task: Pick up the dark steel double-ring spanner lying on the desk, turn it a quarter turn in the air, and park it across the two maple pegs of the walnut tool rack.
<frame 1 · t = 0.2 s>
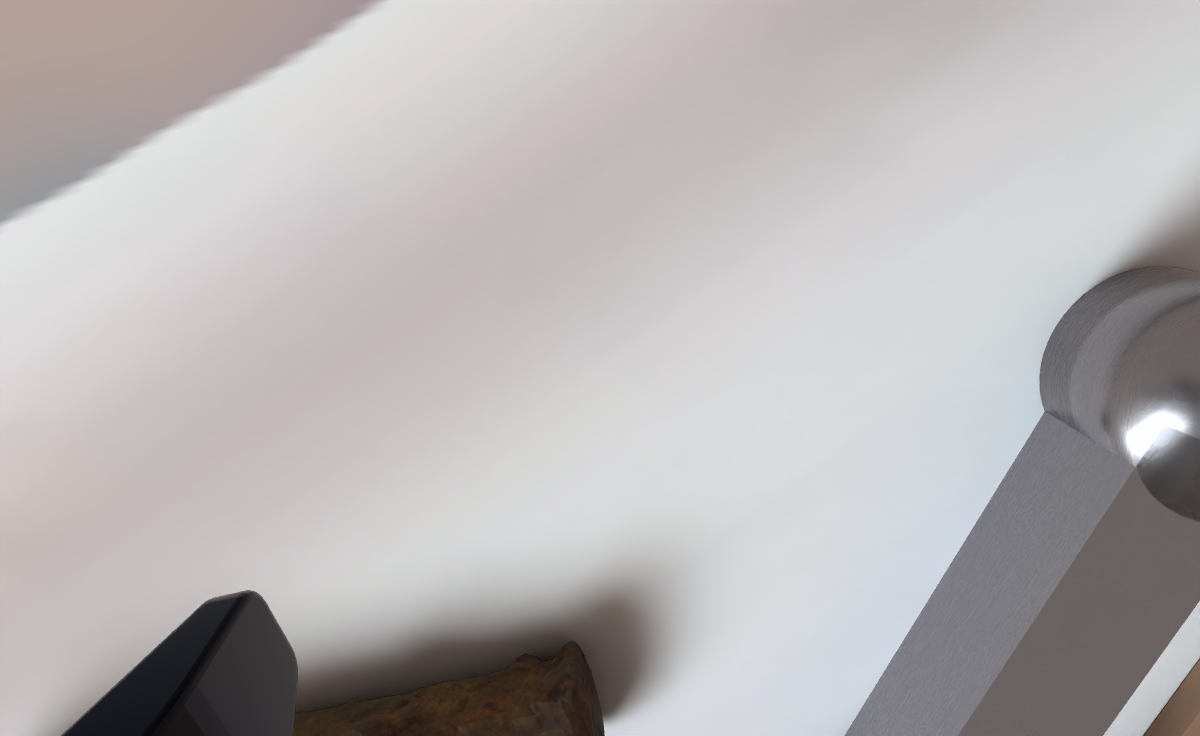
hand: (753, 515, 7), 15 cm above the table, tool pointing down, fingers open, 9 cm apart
spanner: (972, 628, 25), on the table
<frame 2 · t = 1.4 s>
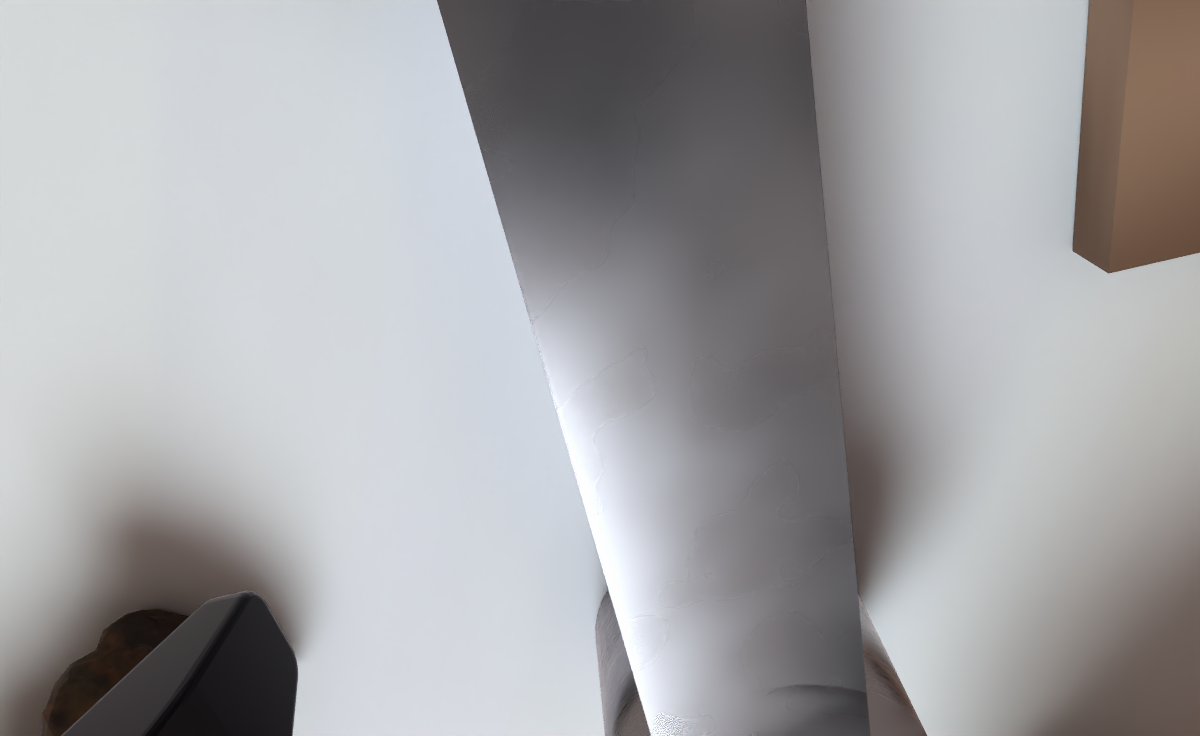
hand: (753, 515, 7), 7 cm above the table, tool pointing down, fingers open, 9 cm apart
spanner: (647, 235, 13), on the table
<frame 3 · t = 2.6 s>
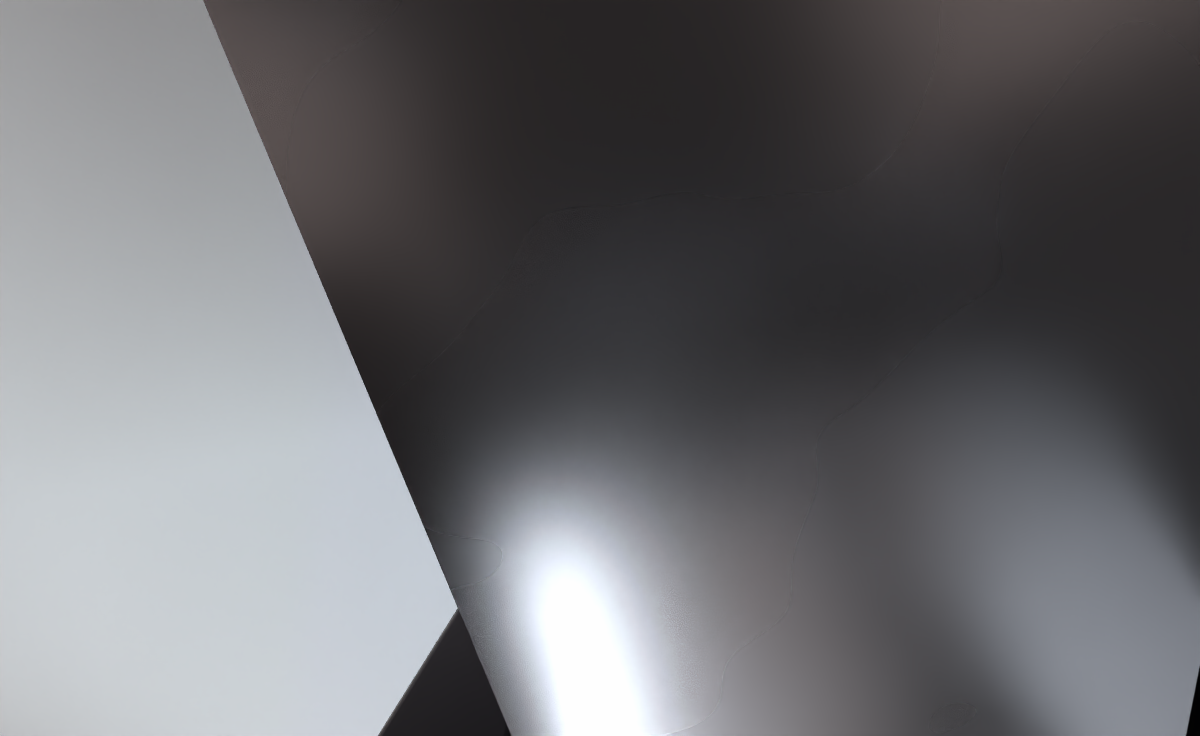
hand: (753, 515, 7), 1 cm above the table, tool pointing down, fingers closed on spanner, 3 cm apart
spanner: (728, 449, 8), on the table, touching gripper
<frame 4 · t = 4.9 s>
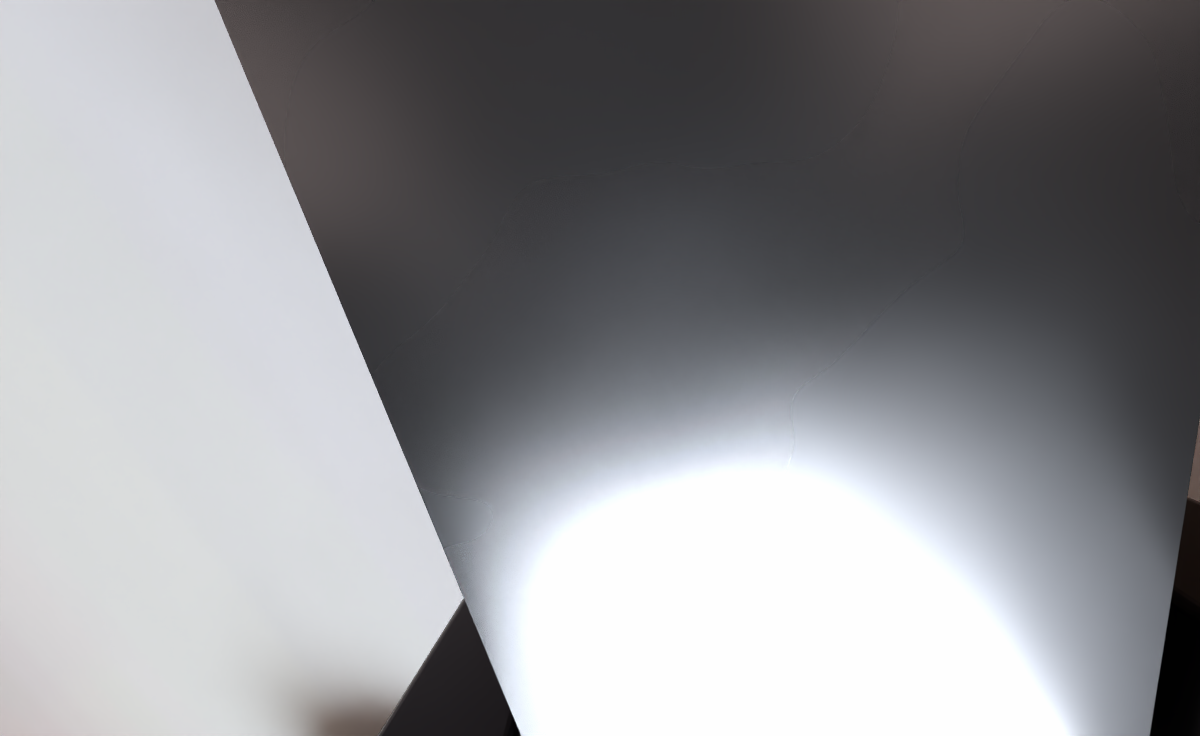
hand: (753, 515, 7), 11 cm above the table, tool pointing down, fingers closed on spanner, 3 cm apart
spanner: (721, 433, 8), point 10 cm above the table, touching gripper
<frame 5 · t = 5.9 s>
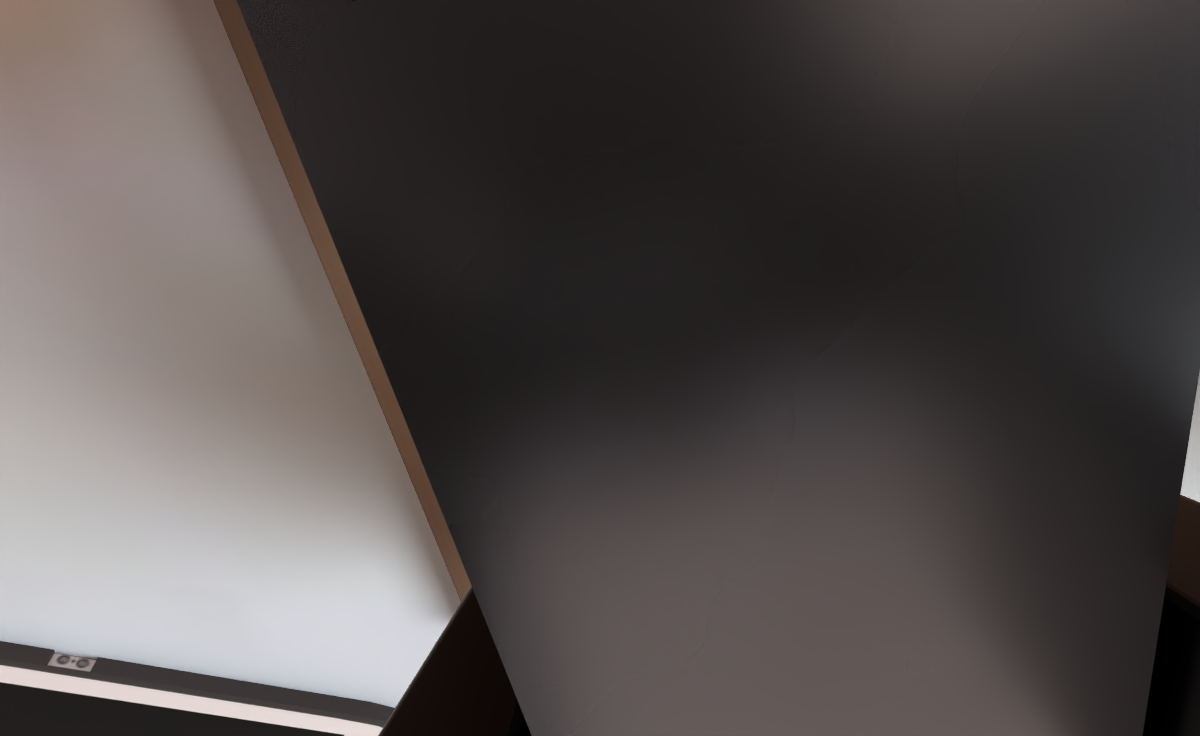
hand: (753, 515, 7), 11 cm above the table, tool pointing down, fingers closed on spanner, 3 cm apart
spanner: (720, 424, 9), point 9 cm above the table, touching gripper
tool rack: (622, 178, 17), on the table
when the fingers open (7 cm above the table, at t = 7.0 s): spanner drops 1 cm, resting on tool rack.
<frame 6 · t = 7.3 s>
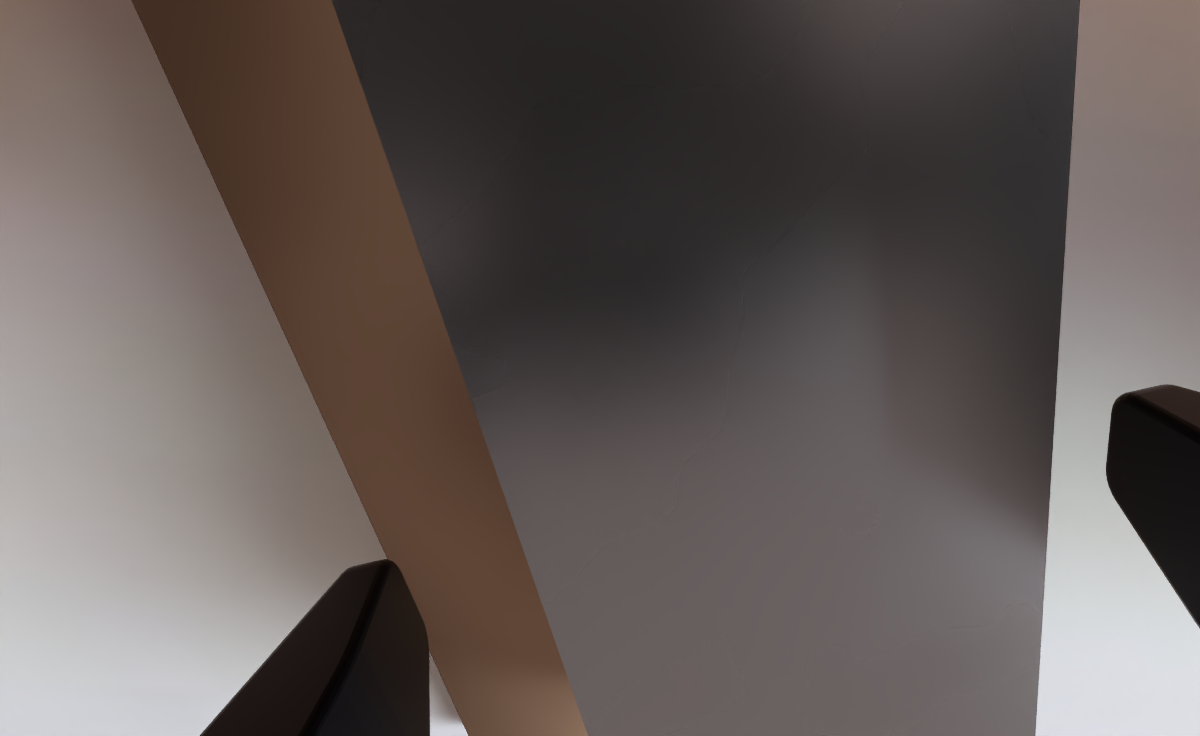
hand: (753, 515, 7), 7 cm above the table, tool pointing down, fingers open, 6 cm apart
spanner: (702, 369, 10), point 5 cm above the table, touching tool rack
tool rack: (645, 232, 14), on the table
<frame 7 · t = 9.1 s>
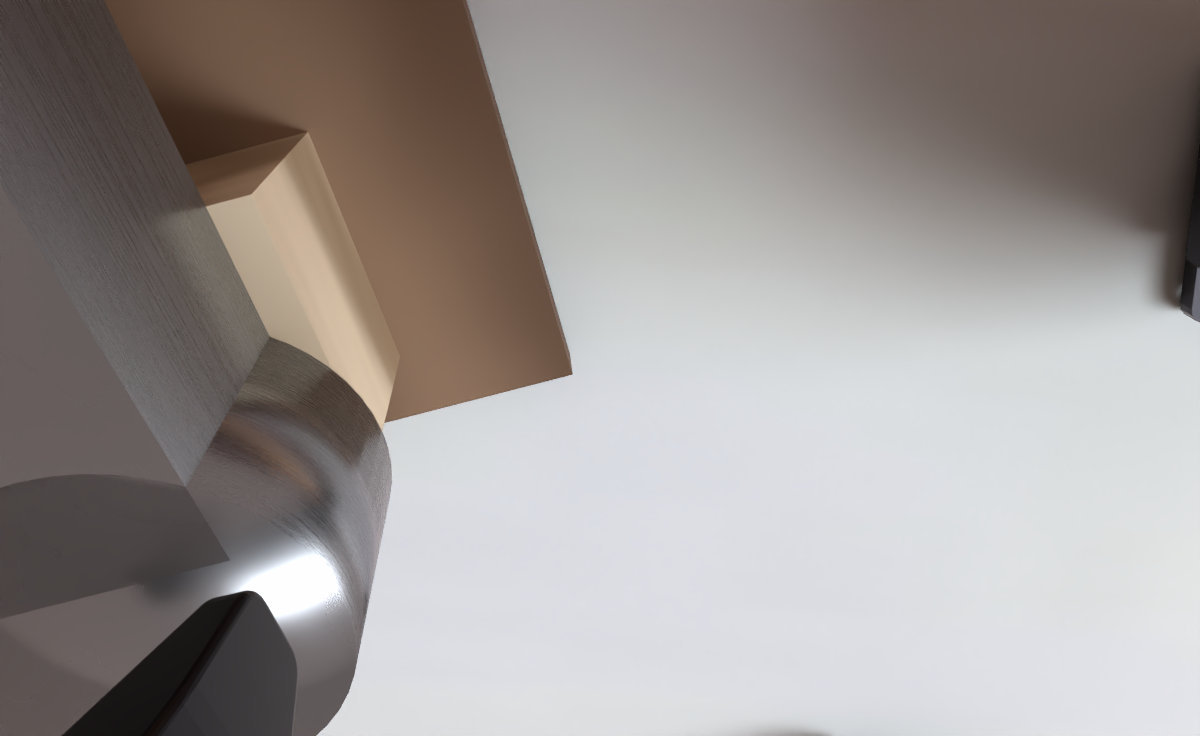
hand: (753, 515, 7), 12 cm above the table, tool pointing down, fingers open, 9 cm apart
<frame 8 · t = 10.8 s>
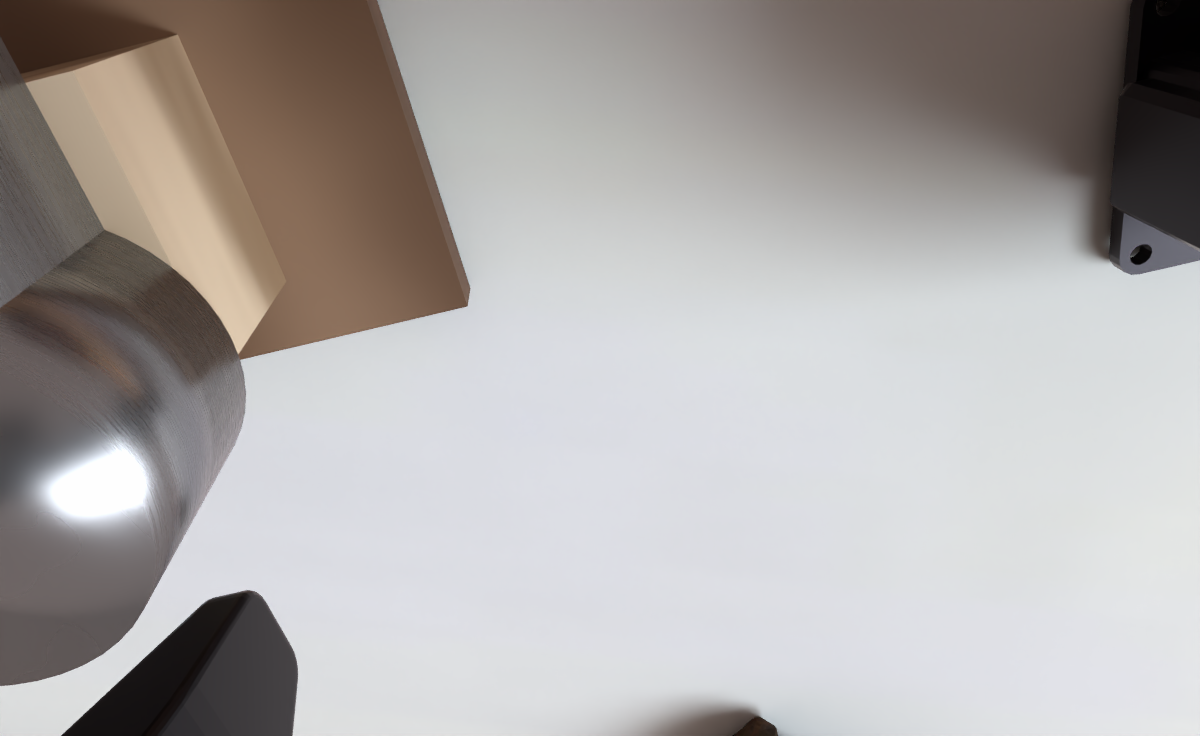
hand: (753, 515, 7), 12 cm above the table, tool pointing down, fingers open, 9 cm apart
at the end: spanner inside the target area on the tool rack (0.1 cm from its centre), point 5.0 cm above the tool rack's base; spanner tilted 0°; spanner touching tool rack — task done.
